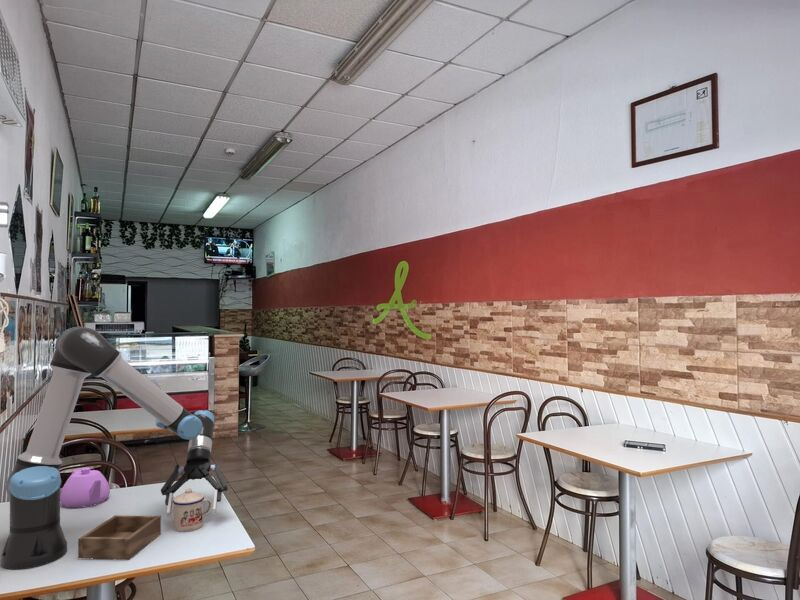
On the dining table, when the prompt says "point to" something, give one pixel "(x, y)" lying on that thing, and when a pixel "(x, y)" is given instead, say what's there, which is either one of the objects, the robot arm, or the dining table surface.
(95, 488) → the teapot
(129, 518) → the walnut crate
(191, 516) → the teacup with lid
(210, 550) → the dining table surface
